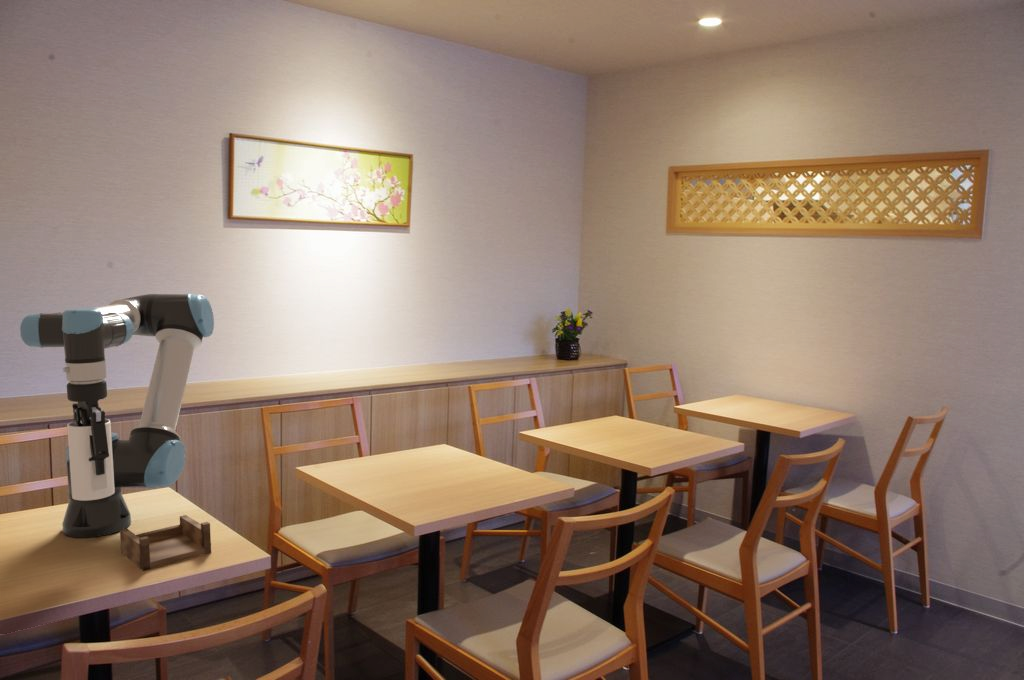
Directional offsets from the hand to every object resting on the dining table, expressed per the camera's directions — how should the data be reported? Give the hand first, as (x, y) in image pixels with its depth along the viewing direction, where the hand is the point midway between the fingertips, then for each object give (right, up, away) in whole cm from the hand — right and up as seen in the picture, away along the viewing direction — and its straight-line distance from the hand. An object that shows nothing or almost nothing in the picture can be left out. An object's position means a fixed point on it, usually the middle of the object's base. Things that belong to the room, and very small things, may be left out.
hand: (93, 484), depth 172 cm
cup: (0, -3, 0) cm, 2 cm away
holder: (+11, -18, +10) cm, 23 cm away
